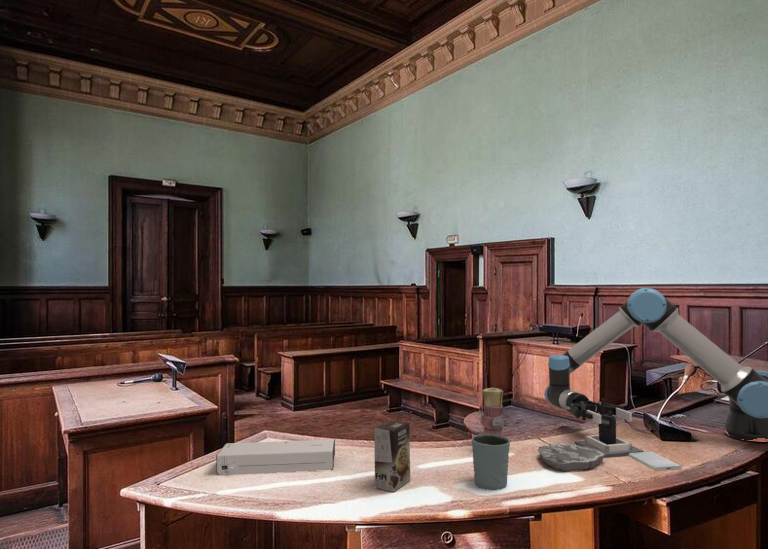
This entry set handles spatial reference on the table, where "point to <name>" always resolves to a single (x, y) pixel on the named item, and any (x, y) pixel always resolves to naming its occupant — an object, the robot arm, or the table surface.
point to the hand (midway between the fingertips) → (615, 418)
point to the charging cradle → (609, 446)
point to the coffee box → (392, 455)
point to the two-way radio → (607, 427)
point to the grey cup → (490, 460)
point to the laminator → (275, 457)
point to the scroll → (492, 411)
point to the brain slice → (570, 457)
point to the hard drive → (654, 461)
